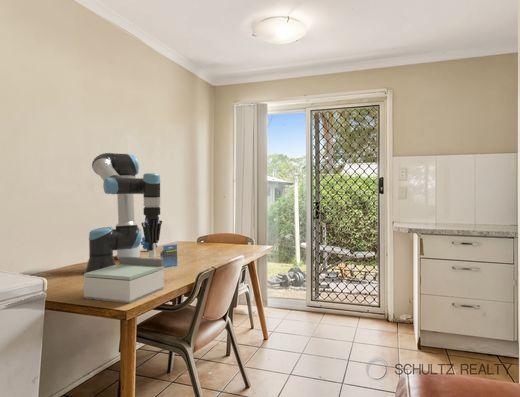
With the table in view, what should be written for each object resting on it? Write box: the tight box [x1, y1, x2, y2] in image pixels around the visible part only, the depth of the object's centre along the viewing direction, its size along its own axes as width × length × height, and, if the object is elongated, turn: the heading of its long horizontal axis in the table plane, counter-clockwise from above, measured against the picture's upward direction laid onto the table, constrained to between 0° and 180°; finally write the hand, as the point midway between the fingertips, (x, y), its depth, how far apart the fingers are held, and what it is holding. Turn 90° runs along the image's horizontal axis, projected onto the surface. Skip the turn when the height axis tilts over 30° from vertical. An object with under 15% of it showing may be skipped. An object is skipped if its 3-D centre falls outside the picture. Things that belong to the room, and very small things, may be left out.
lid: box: [83, 257, 165, 280], centre depth 149 cm, size 22×22×4 cm
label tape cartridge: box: [159, 243, 178, 269], centre depth 205 cm, size 9×4×12 cm, turn 133°
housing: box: [83, 269, 165, 304], centre depth 148 cm, size 22×22×8 cm
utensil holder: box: [116, 244, 141, 260], centre depth 234 cm, size 15×15×18 cm
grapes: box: [140, 236, 158, 252], centre depth 259 cm, size 12×7×12 cm, turn 106°
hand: (152, 257), depth 167 cm, fingers closed
